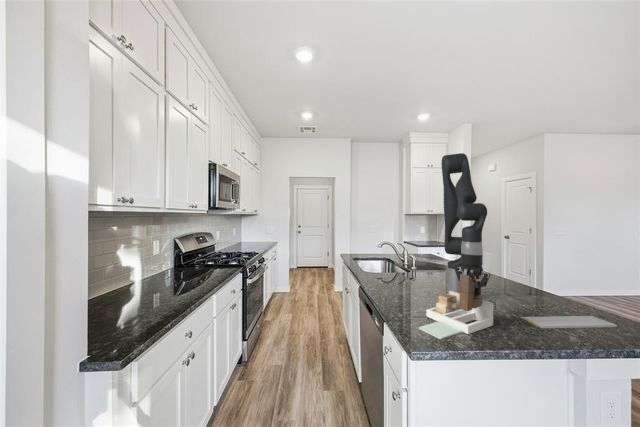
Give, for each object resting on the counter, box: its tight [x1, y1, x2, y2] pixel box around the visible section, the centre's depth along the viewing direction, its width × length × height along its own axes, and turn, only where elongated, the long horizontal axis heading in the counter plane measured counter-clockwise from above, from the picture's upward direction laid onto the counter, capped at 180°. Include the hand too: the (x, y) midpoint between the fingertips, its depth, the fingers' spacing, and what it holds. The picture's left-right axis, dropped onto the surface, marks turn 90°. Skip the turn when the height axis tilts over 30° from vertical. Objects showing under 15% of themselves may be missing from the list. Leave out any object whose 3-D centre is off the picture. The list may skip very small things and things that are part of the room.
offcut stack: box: [435, 293, 458, 314], centre depth 115 cm, size 9×5×9 cm, turn 118°
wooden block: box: [459, 274, 483, 311], centre depth 105 cm, size 4×11×18 cm, turn 121°
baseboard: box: [520, 312, 618, 329], centre depth 109 cm, size 31×3×12 cm
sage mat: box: [418, 321, 463, 340], centre depth 101 cm, size 12×10×1 cm
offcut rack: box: [425, 291, 494, 335], centre depth 110 cm, size 16×19×9 cm
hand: (471, 294), depth 105 cm, fingers closed on wooden block, 3 cm apart
